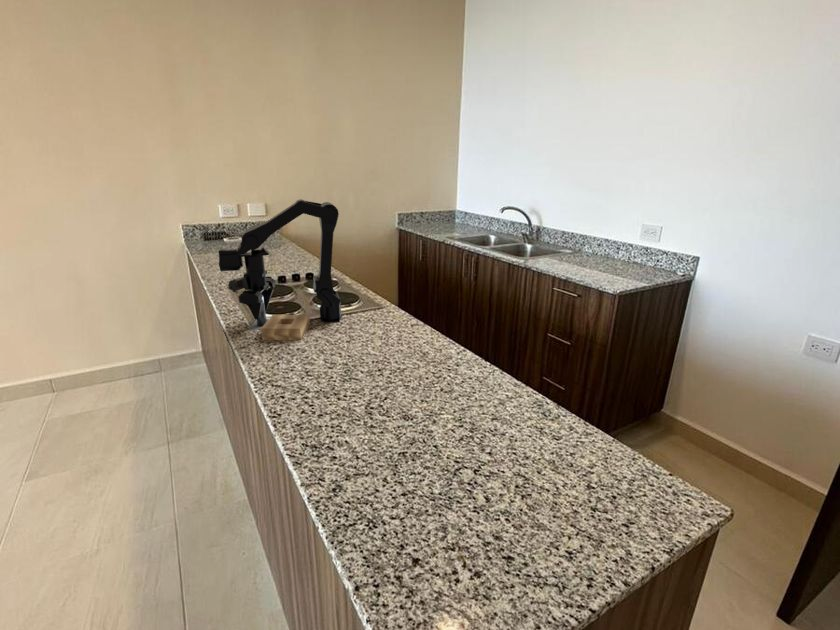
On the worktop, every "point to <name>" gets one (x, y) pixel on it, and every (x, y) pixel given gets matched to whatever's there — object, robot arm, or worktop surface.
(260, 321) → the pin
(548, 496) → the worktop surface
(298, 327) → the socket block
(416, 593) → the worktop surface
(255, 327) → the mat
